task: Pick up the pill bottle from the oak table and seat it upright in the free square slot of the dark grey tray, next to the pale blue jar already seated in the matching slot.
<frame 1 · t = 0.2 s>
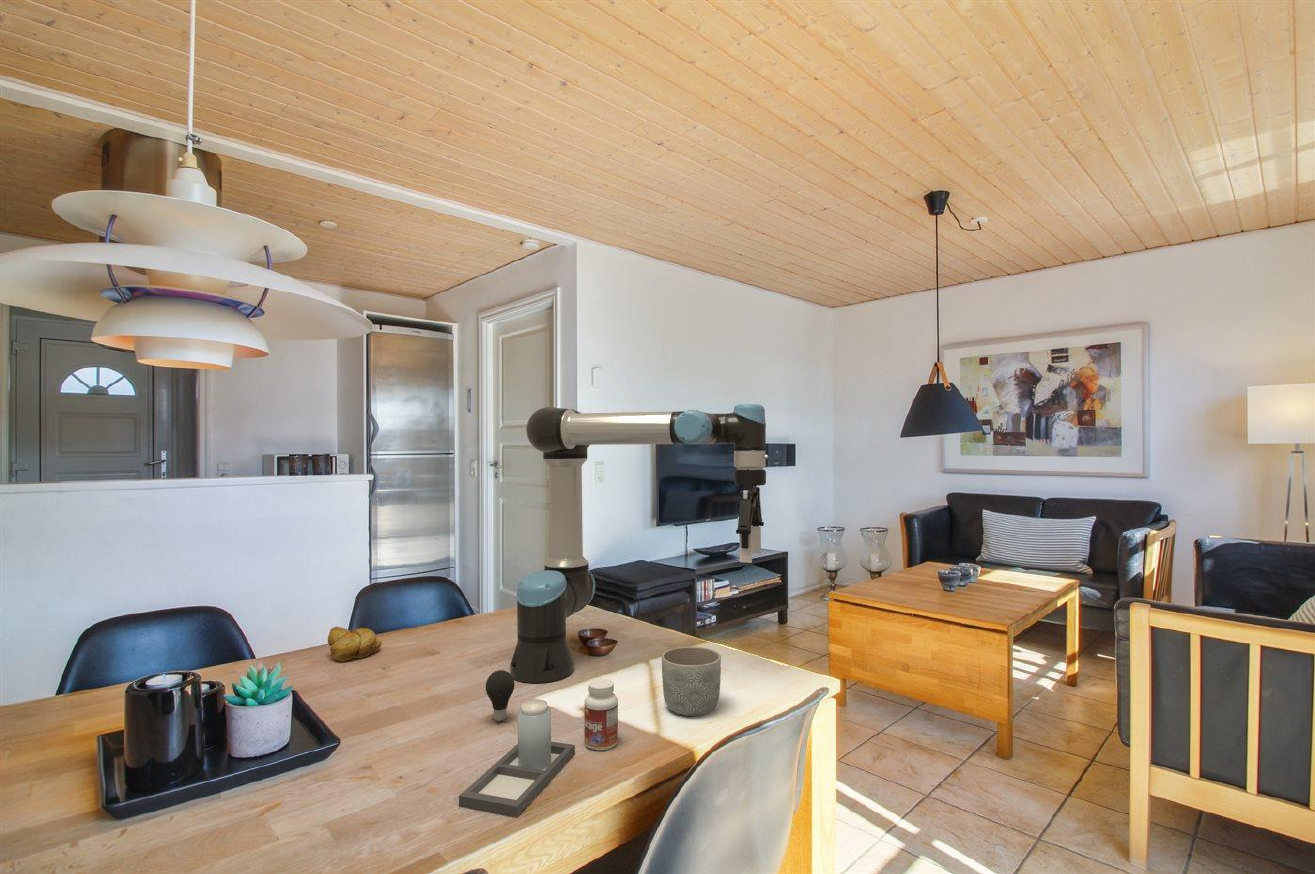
hand: (750, 557, 151), 28 cm above the table, fingers open, 13 cm apart
pill bottle: (601, 744, 116), on the table
bread roll: (356, 657, 166), on the table
light bulb: (500, 722, 125), on the table
planter: (691, 709, 131), on the table
dark grey tray: (521, 777, 104), on the table
pale blue jar: (534, 764, 108), resting on dark grey tray
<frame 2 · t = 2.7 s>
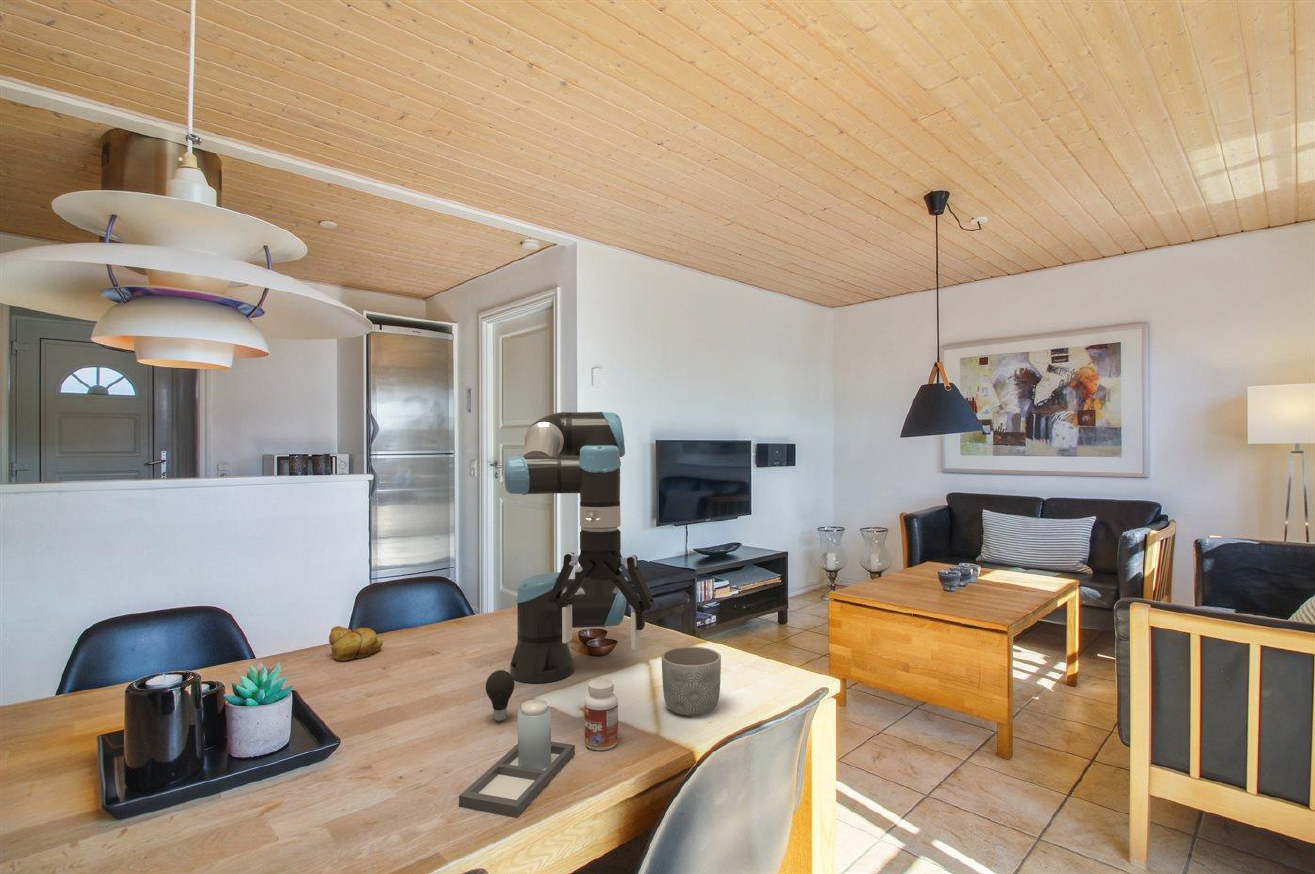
hand: (600, 644, 116), 18 cm above the table, fingers open, 13 cm apart
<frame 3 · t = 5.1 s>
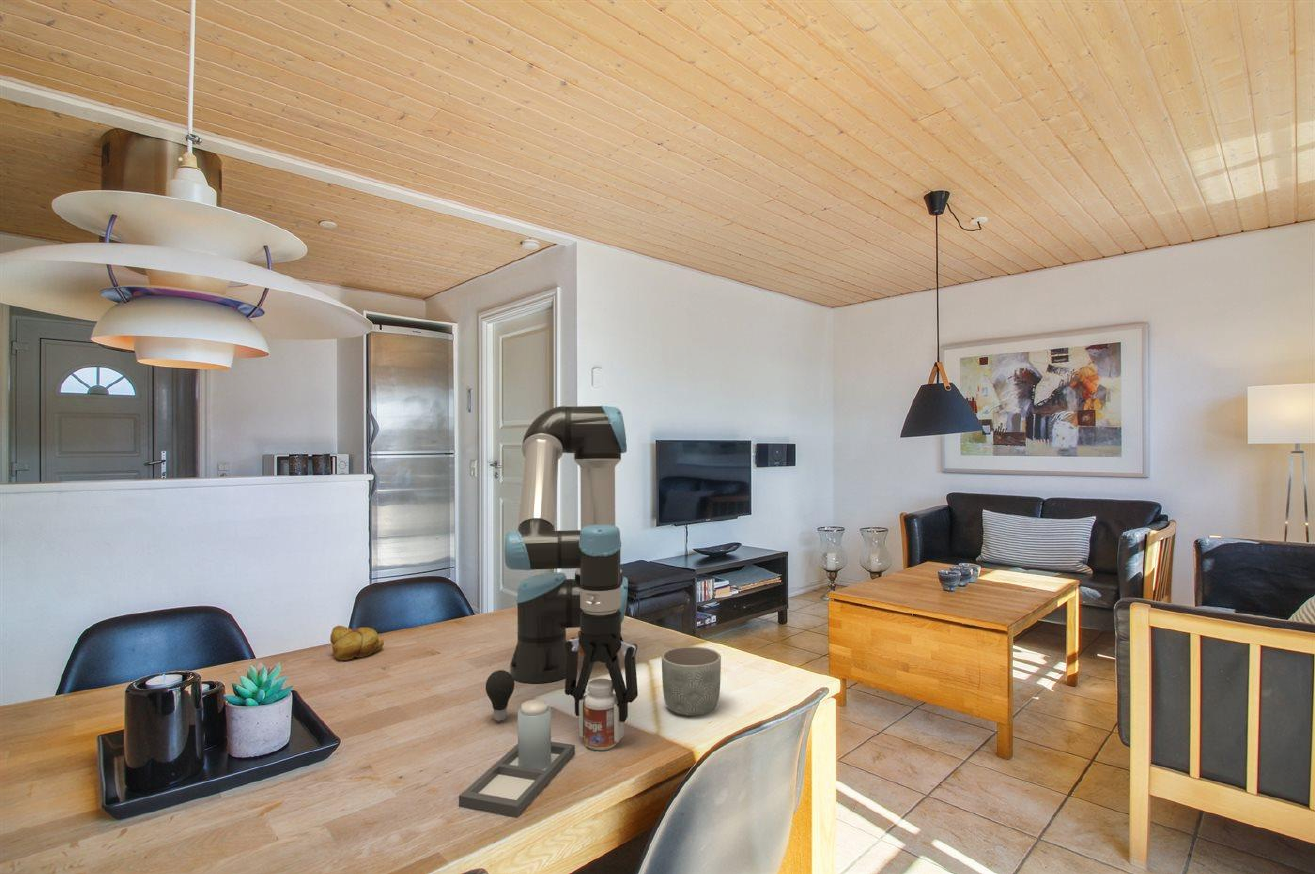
hand: (601, 735, 116), 1 cm above the table, fingers closed on pill bottle, 6 cm apart
pill bottle: (601, 744, 116), on the table, touching gripper
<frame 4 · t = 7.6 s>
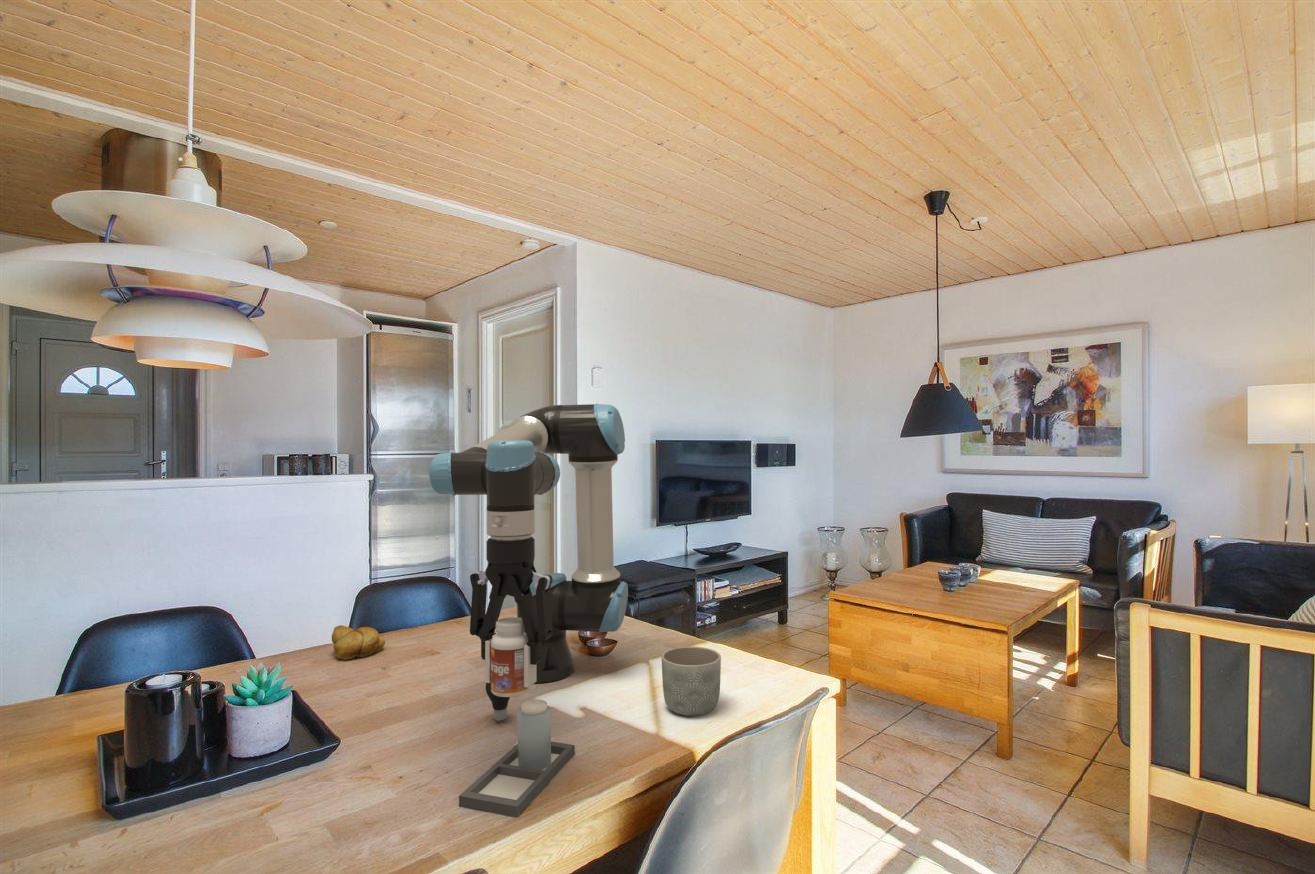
hand: (510, 681, 100), 17 cm above the table, fingers closed on pill bottle, 6 cm apart
pill bottle: (510, 692, 100), point 16 cm above the table, touching gripper
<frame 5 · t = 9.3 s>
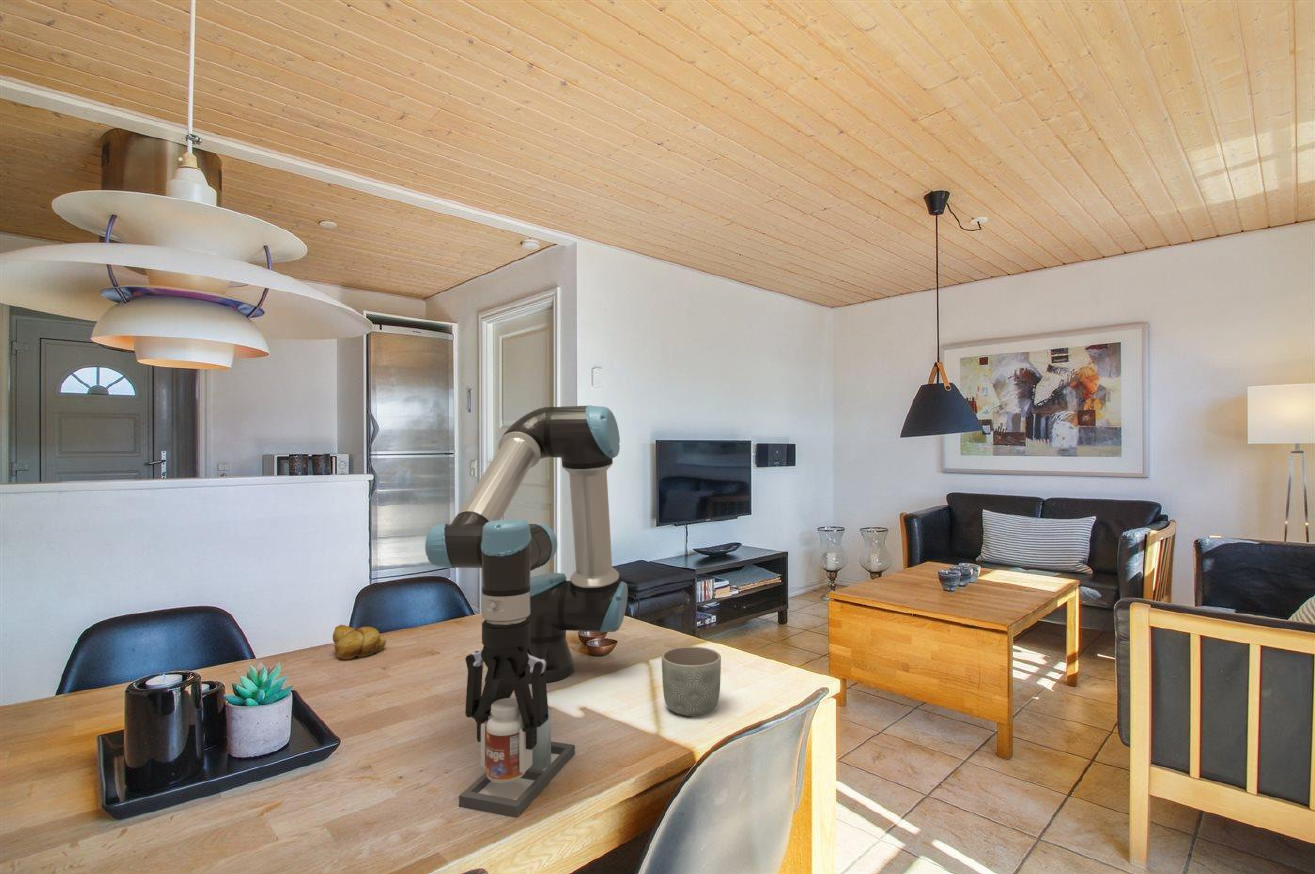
hand: (506, 764, 99), 4 cm above the table, fingers closed on pill bottle, 6 cm apart
pill bottle: (506, 775, 99), point 3 cm above the table, touching gripper
when the fingers open (3 cm above the table, at t = 10.3 s): pill bottle stays where it is, resting on dark grey tray.
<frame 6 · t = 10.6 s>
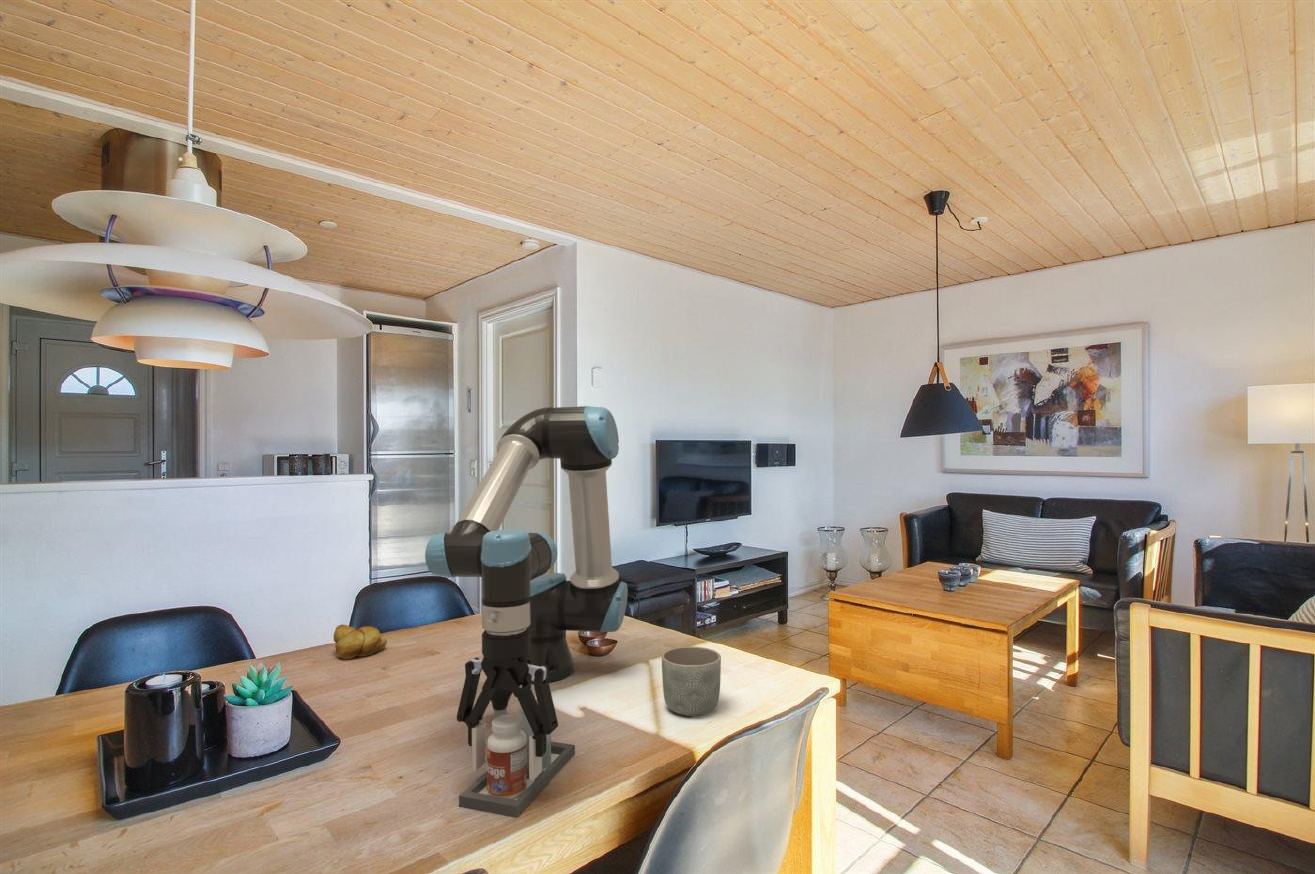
hand: (506, 770, 100), 3 cm above the table, fingers open, 9 cm apart
pill bottle: (507, 791, 100), resting on dark grey tray
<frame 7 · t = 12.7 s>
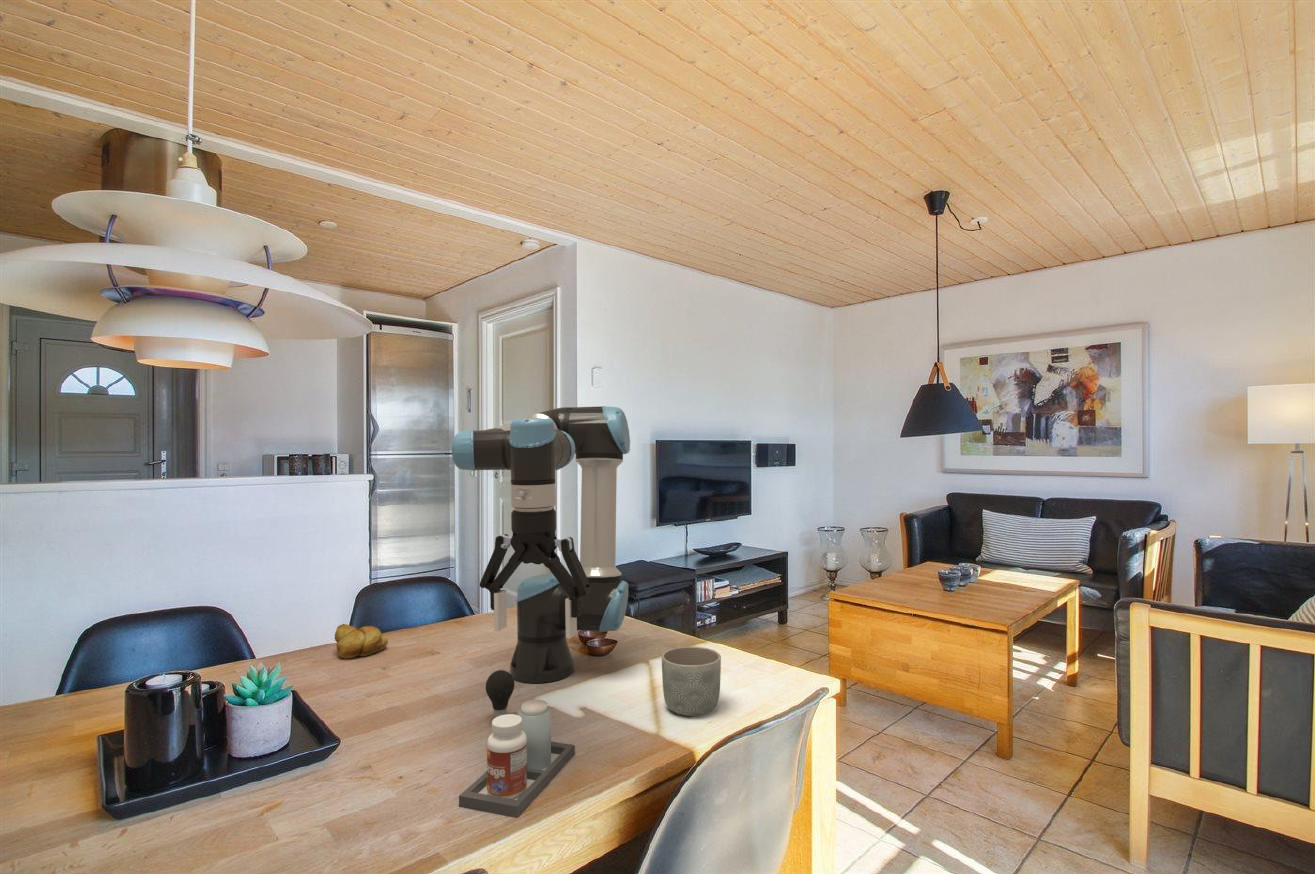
hand: (535, 632, 108), 23 cm above the table, fingers open, 13 cm apart
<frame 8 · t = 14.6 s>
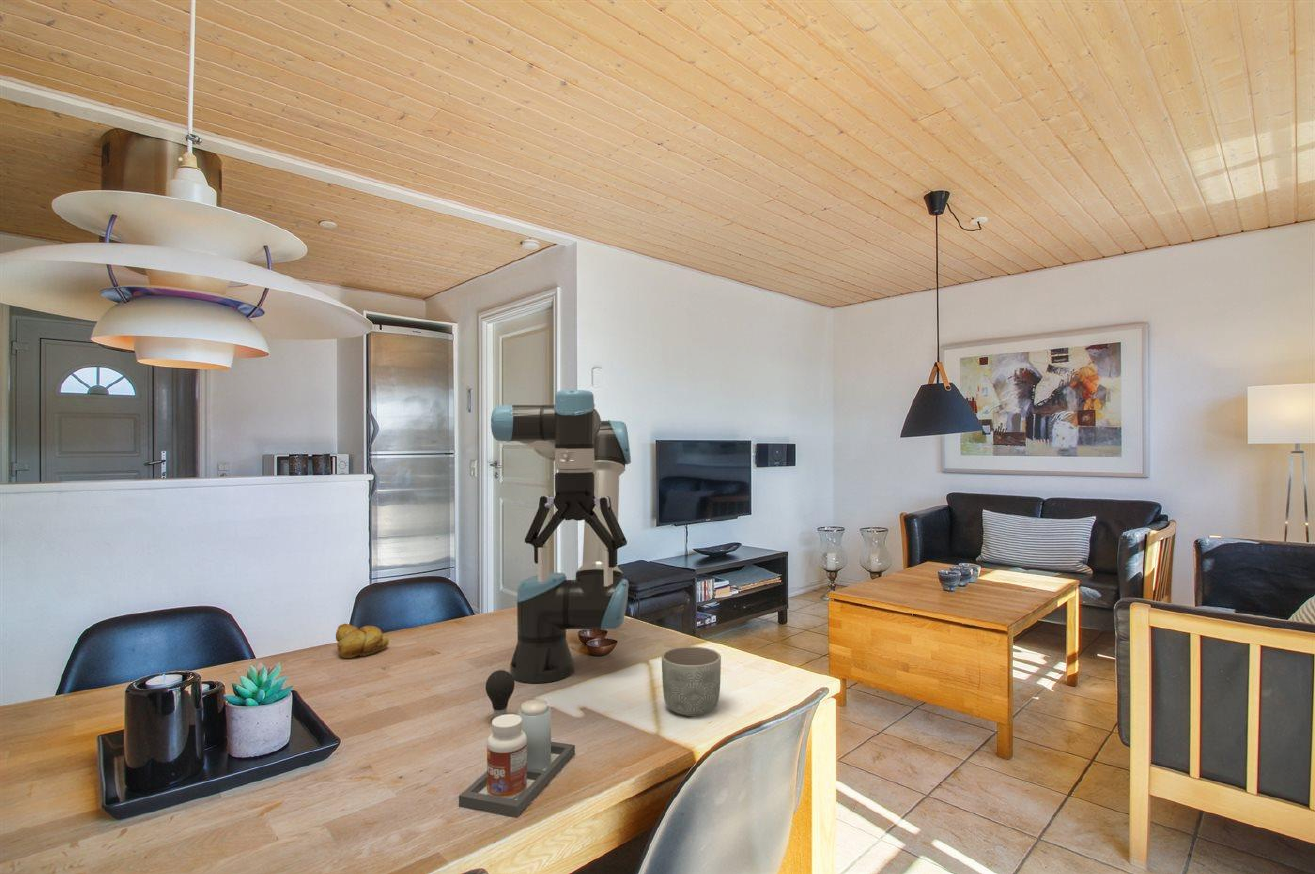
hand: (575, 582, 120), 29 cm above the table, fingers open, 13 cm apart
at the end: pill bottle 0.0 cm from the target spot on the dark grey tray, point 0.1 cm above the dark grey tray's base; pill bottle tilted 0°; the gripper is holding nothing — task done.
